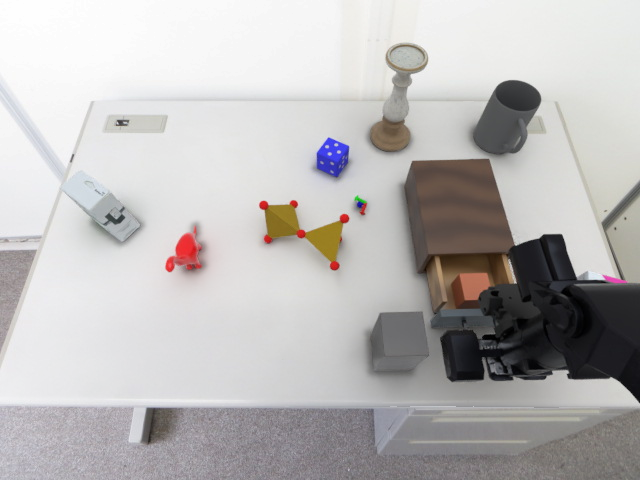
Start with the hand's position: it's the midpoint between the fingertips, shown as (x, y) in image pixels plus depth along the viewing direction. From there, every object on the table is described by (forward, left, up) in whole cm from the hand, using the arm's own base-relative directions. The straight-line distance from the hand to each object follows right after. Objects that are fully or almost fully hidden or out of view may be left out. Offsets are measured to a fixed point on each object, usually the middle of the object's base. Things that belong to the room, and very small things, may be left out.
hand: (492, 365), depth 55 cm
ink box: (+52, +49, -6) cm, 72 cm away
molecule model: (+35, +14, -6) cm, 38 cm away
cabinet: (+25, -10, -6) cm, 28 cm away
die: (+48, +4, -6) cm, 49 cm away
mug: (+38, -31, -6) cm, 50 cm away
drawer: (+13, -5, -5) cm, 15 cm away
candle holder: (+50, -11, -6) cm, 52 cm away
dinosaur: (+38, +37, -6) cm, 53 cm away
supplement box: (+2, -19, -6) cm, 20 cm away
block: (+11, -5, -4) cm, 13 cm away
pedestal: (+8, +12, -6) cm, 15 cm away
